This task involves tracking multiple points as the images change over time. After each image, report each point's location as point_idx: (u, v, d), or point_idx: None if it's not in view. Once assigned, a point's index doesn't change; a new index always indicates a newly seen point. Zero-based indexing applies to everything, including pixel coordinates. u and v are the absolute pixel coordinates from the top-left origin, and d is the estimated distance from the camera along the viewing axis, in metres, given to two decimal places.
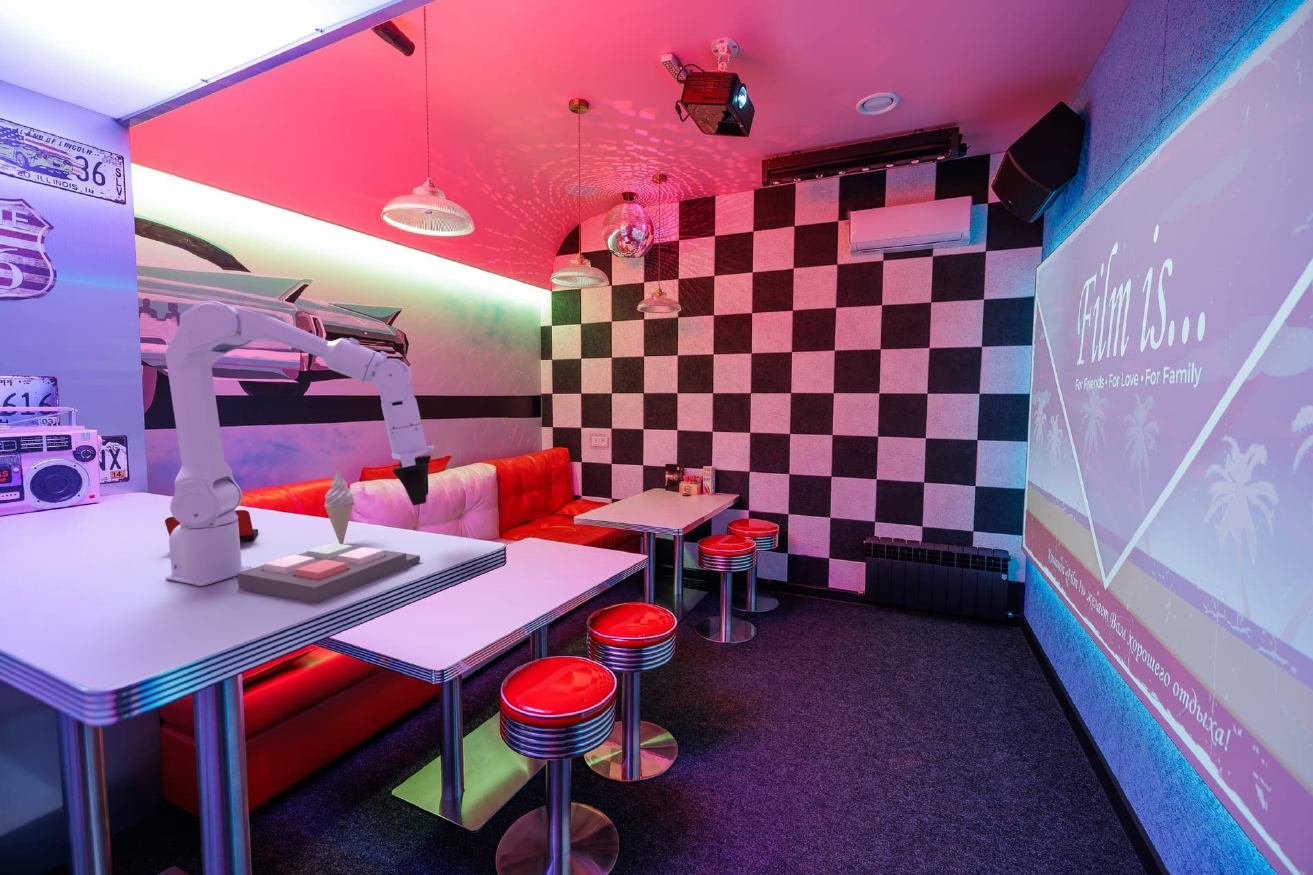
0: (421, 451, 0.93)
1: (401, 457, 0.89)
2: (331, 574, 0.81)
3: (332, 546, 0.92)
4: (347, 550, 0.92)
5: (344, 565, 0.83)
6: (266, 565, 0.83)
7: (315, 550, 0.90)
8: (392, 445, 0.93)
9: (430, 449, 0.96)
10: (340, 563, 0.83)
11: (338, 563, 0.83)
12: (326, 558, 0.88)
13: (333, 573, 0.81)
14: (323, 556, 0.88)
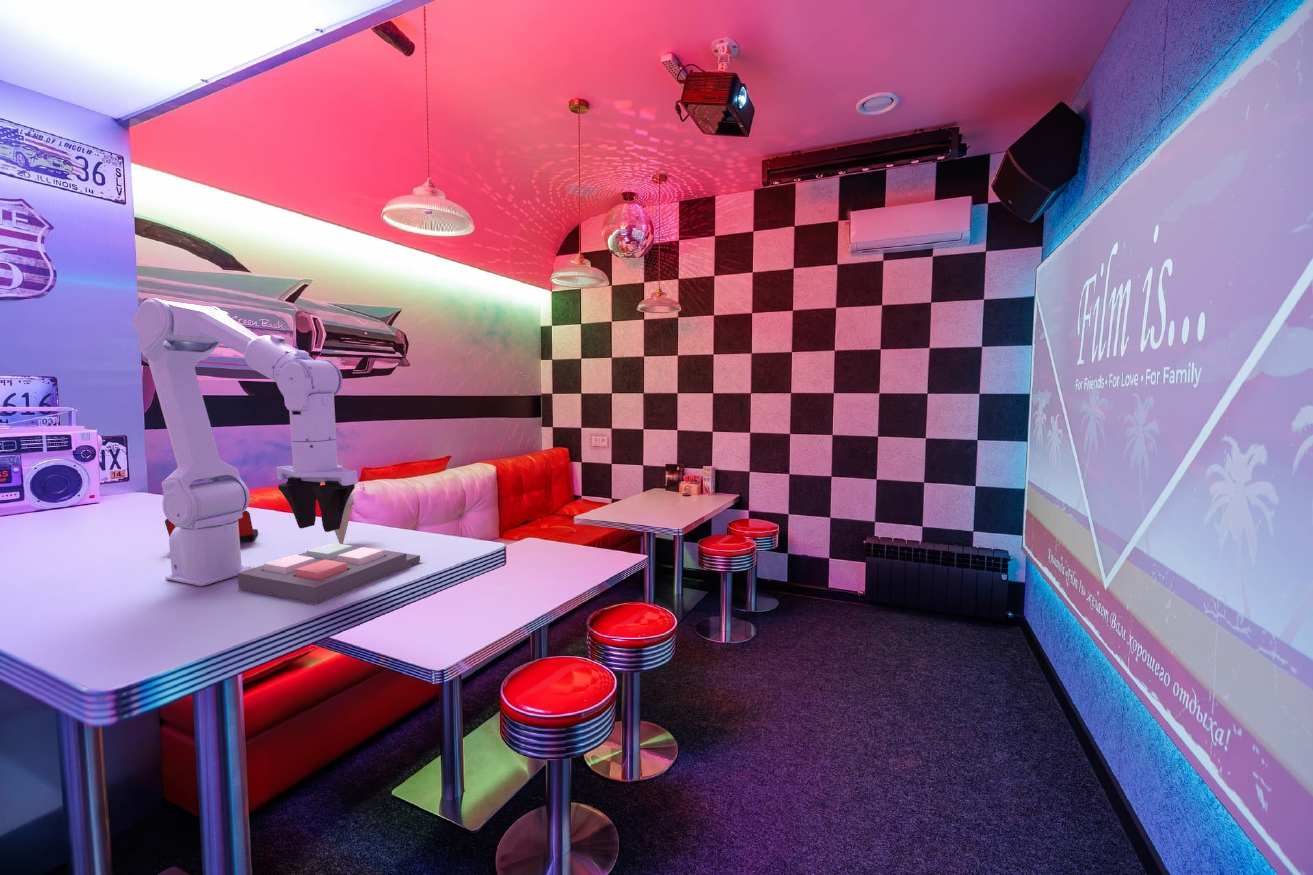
0: (343, 469, 0.82)
1: (346, 473, 0.77)
2: (331, 574, 0.81)
3: (332, 546, 0.92)
4: (347, 550, 0.92)
5: (344, 565, 0.83)
6: (266, 565, 0.83)
7: (315, 550, 0.90)
8: (307, 461, 0.78)
9: None
10: (340, 563, 0.83)
11: (338, 563, 0.83)
12: (326, 558, 0.88)
13: (333, 573, 0.81)
14: (323, 556, 0.88)
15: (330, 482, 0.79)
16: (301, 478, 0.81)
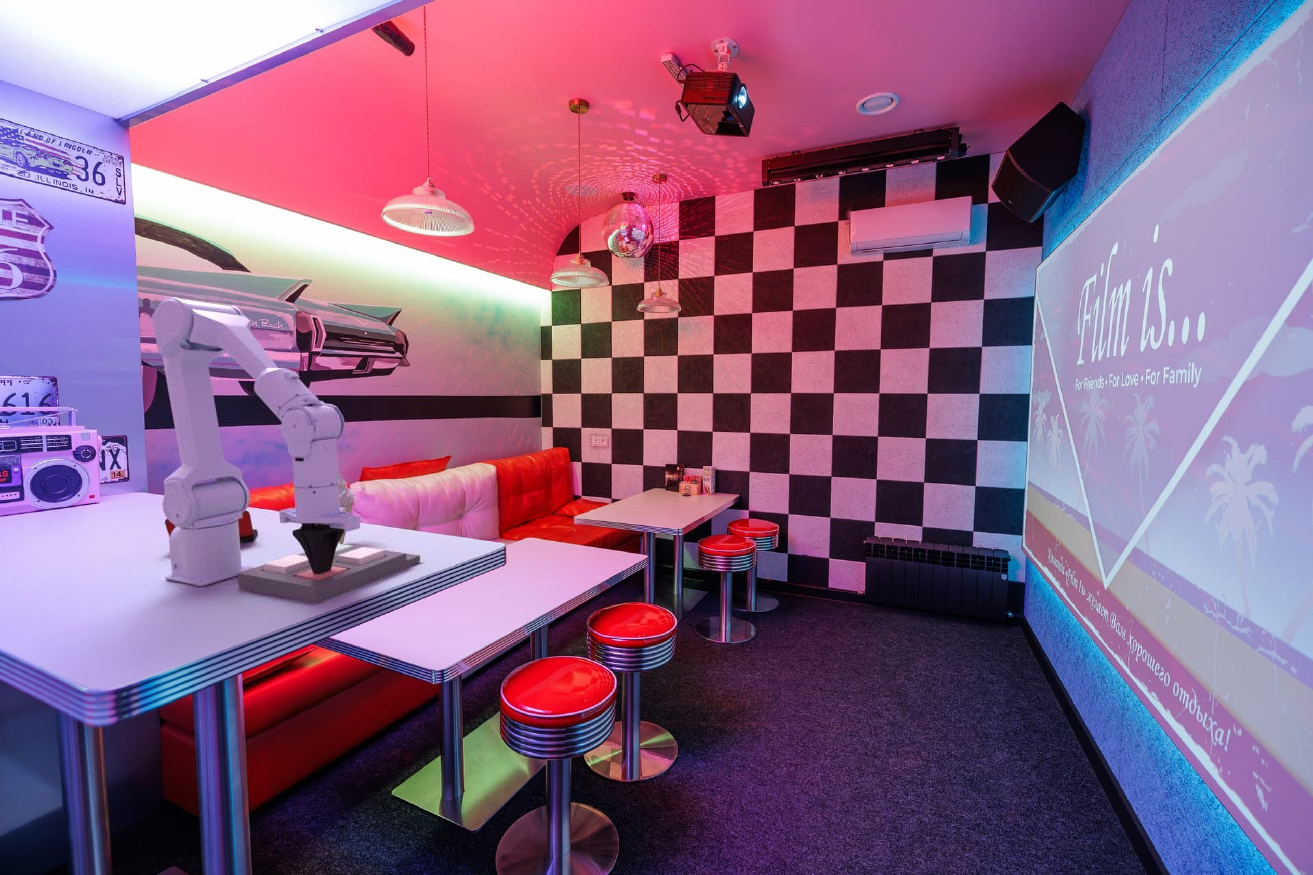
0: None
1: (349, 519, 0.78)
2: None
3: None
4: (347, 550, 0.92)
5: None
6: (266, 565, 0.83)
7: None
8: (310, 507, 0.78)
9: (343, 511, 0.84)
10: (340, 569, 0.83)
11: (338, 569, 0.83)
12: None
13: None
14: None
15: (321, 526, 0.80)
16: None
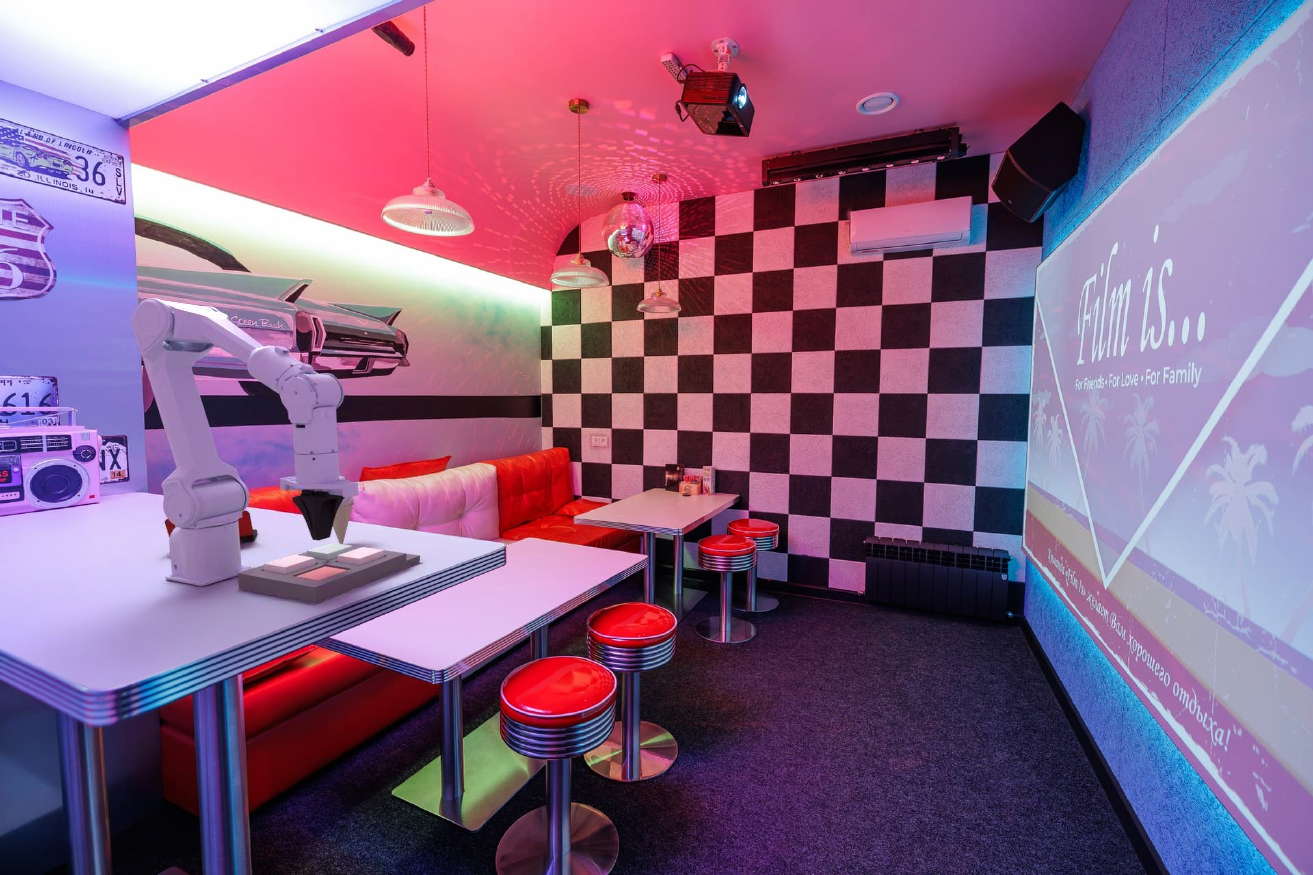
0: (345, 481, 0.83)
1: (347, 486, 0.79)
2: None
3: (332, 546, 0.92)
4: (347, 550, 0.92)
5: None
6: (266, 565, 0.83)
7: (315, 550, 0.90)
8: (309, 473, 0.80)
9: None
10: (340, 570, 0.83)
11: (338, 570, 0.83)
12: (326, 558, 0.88)
13: None
14: (323, 556, 0.88)
15: (320, 492, 0.81)
16: (304, 489, 0.83)
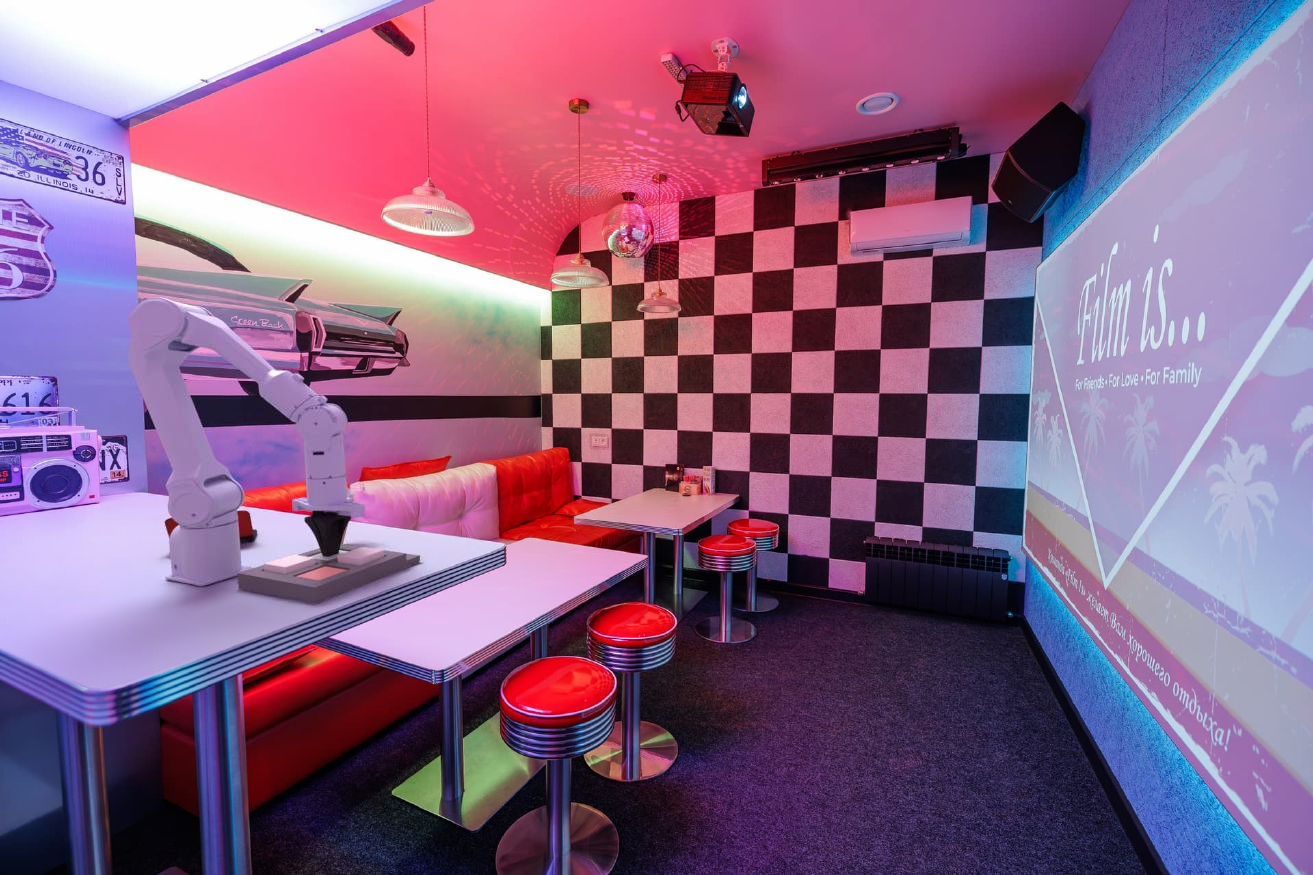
0: (352, 502, 0.91)
1: (355, 507, 0.87)
2: None
3: None
4: None
5: None
6: (266, 565, 0.83)
7: (315, 556, 0.90)
8: (320, 496, 0.87)
9: None
10: (340, 570, 0.83)
11: (338, 570, 0.83)
12: None
13: None
14: None
15: (330, 513, 0.89)
16: None
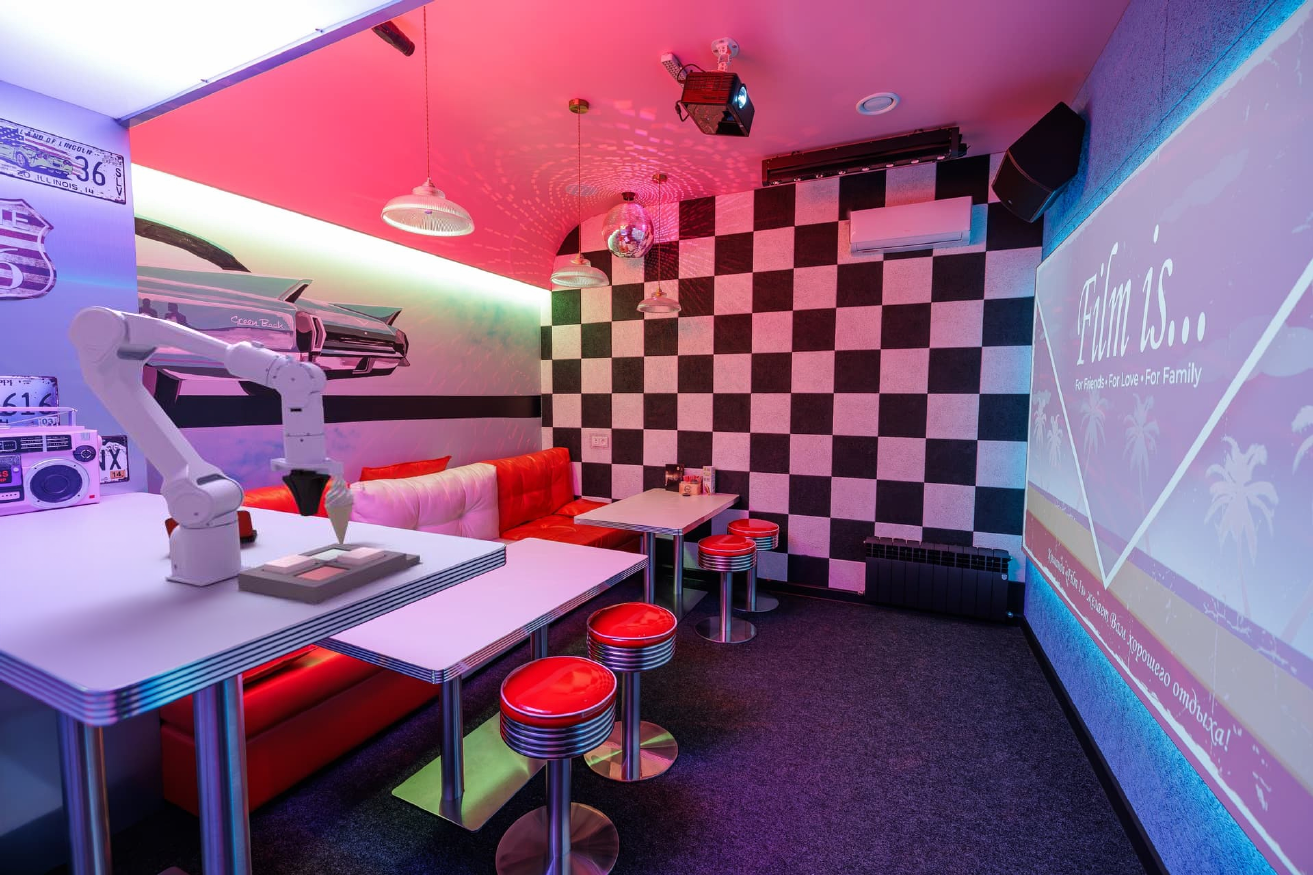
0: (331, 461, 0.90)
1: (333, 465, 0.86)
2: None
3: (332, 552, 0.92)
4: None
5: None
6: (266, 565, 0.83)
7: (315, 556, 0.90)
8: (298, 453, 0.86)
9: None
10: (340, 570, 0.83)
11: (338, 570, 0.83)
12: None
13: None
14: None
15: (308, 472, 0.88)
16: (293, 469, 0.90)
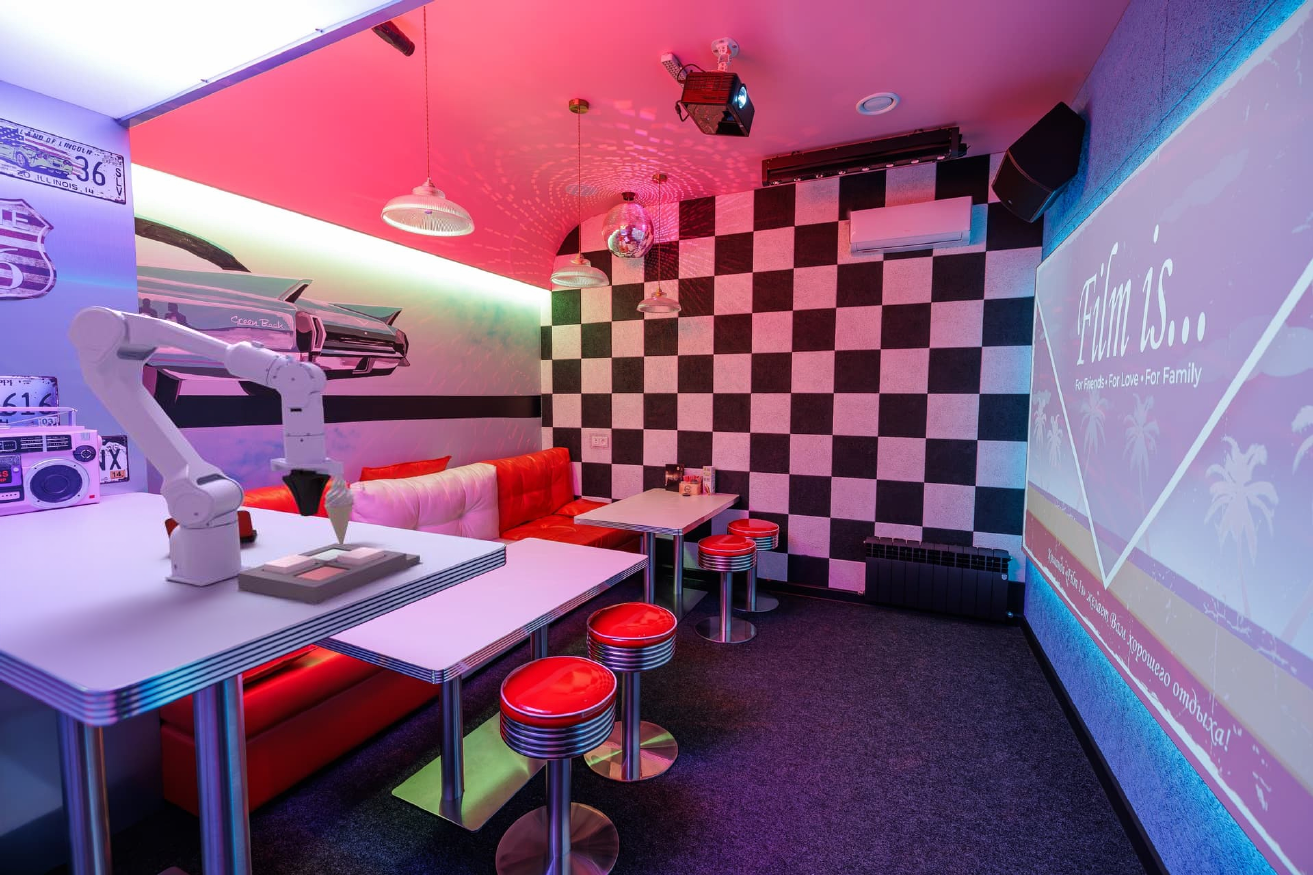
0: (331, 461, 0.90)
1: (333, 465, 0.86)
2: None
3: (332, 552, 0.92)
4: None
5: None
6: (266, 565, 0.83)
7: (315, 556, 0.90)
8: (298, 453, 0.86)
9: None
10: (340, 570, 0.83)
11: (338, 570, 0.83)
12: None
13: None
14: None
15: (308, 472, 0.88)
16: (293, 469, 0.90)
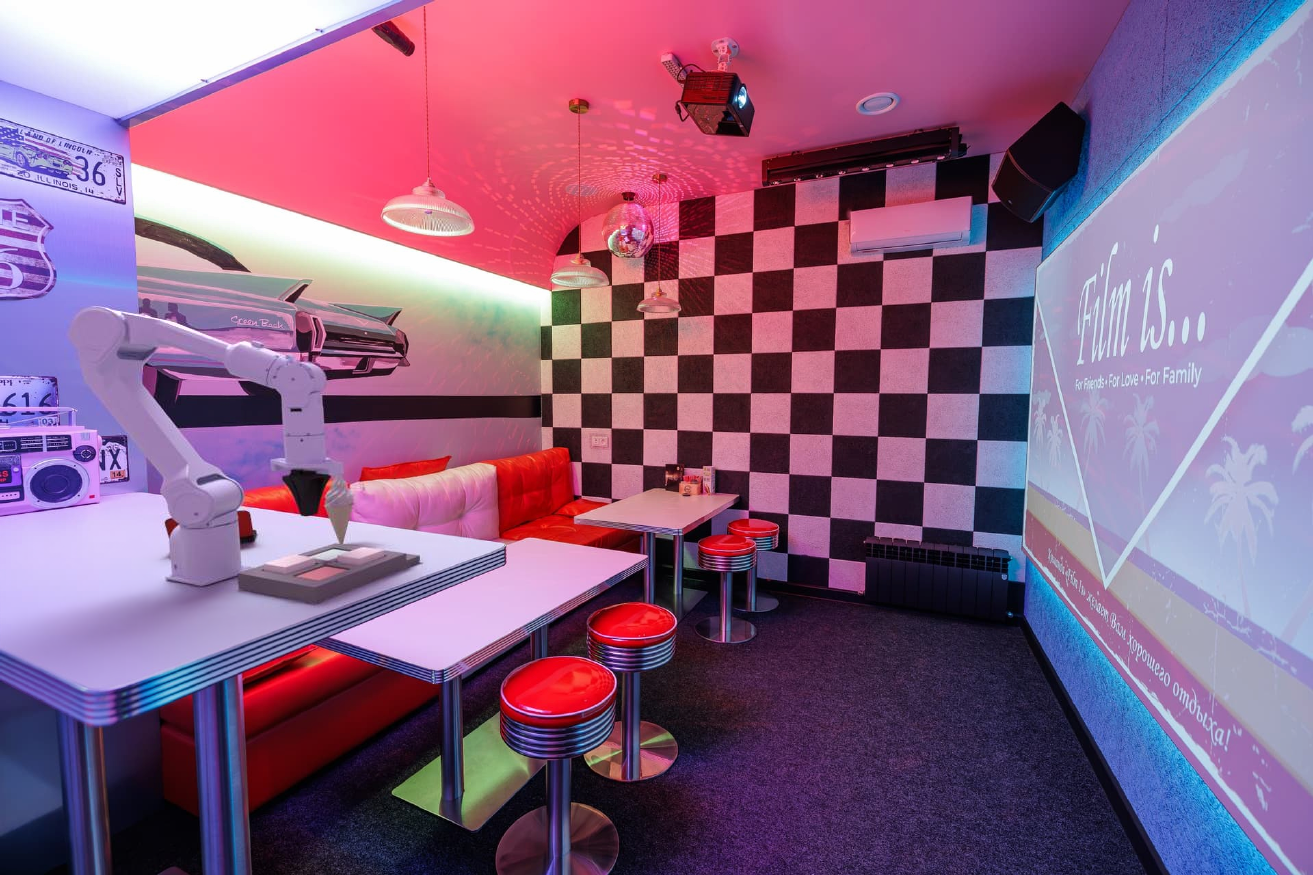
0: (331, 461, 0.90)
1: (333, 465, 0.86)
2: None
3: (332, 552, 0.92)
4: None
5: None
6: (266, 565, 0.83)
7: (315, 556, 0.90)
8: (298, 453, 0.86)
9: None
10: (340, 570, 0.83)
11: (338, 570, 0.83)
12: None
13: None
14: None
15: (308, 472, 0.88)
16: (293, 469, 0.90)
